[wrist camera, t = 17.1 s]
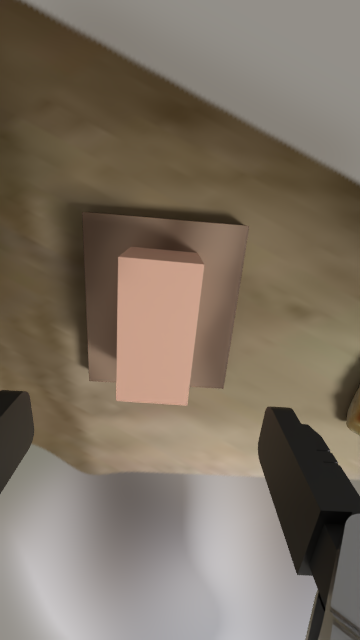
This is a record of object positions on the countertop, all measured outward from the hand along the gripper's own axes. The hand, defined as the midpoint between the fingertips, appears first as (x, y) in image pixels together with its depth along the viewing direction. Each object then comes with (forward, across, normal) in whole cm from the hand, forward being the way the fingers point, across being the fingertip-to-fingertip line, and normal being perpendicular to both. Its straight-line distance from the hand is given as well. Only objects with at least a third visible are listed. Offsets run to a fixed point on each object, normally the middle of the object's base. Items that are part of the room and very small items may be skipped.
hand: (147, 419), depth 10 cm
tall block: (+11, 0, +6) cm, 13 cm away
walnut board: (+15, 0, +1) cm, 15 cm away
